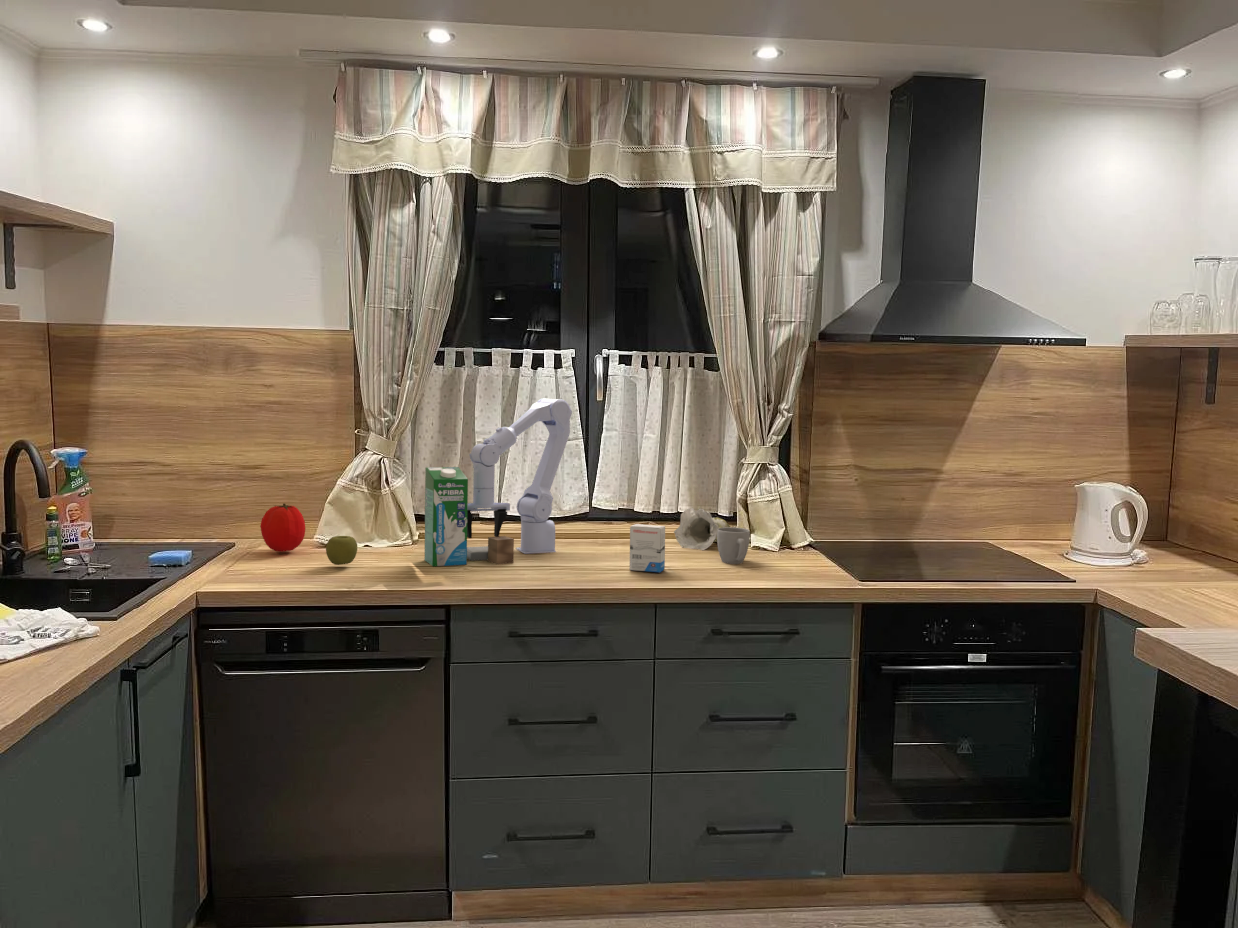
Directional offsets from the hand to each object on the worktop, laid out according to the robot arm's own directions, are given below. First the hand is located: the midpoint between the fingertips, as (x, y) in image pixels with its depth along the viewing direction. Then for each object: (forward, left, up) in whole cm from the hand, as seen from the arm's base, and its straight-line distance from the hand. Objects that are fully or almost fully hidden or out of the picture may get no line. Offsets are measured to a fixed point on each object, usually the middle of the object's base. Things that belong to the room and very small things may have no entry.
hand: (483, 537), depth 255 cm
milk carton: (+12, +5, -6) cm, 14 cm away
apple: (+38, 0, -6) cm, 38 cm away
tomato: (+50, -22, -6) cm, 55 cm away
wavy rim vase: (-63, +10, -8) cm, 64 cm away
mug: (-62, +31, -6) cm, 69 cm away
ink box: (-36, +29, -6) cm, 47 cm away
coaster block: (0, 0, -6) cm, 6 cm away
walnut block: (-3, +8, -6) cm, 10 cm away
